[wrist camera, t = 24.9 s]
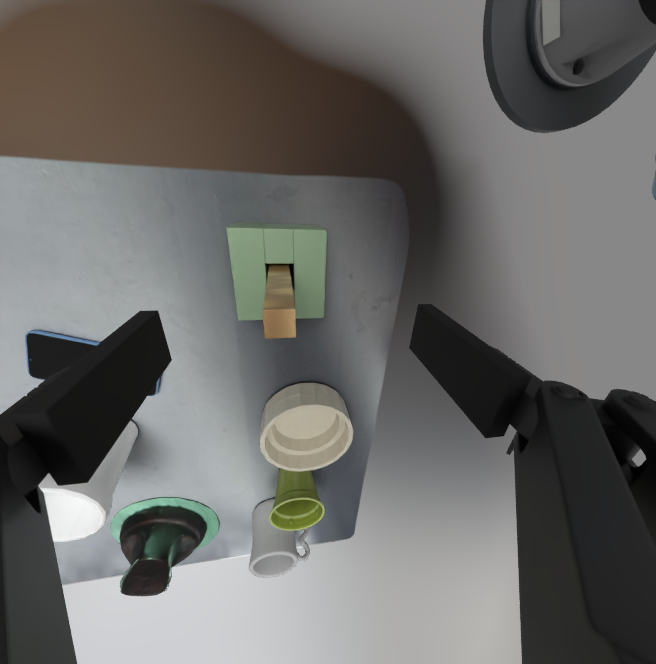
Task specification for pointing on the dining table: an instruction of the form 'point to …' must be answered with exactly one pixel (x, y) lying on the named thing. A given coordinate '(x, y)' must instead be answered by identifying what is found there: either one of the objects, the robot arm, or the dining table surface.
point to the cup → (87, 494)
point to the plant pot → (296, 501)
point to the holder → (278, 248)
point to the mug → (273, 545)
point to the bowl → (305, 427)
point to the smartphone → (57, 354)
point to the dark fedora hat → (159, 540)
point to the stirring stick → (279, 304)
